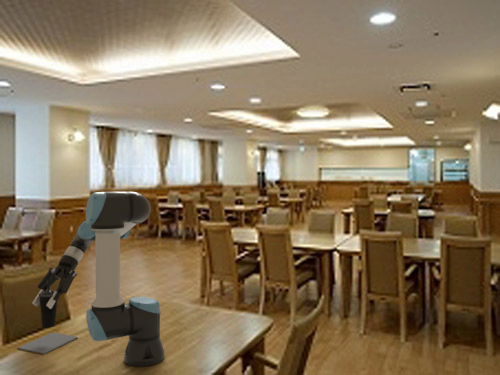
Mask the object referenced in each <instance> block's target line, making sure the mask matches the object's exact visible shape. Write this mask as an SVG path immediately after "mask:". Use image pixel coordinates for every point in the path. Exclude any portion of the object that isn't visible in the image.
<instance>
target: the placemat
mask: <svg viewBox="0 0 500 375" xmlns="http://www.w3.org/2000/svg"><path fill="white" fill-rule="evenodd" d="M78 338H79V337H78V336H74V335H71V334H69V335H68V334H64V333H59V332H54V331H53V332H50V333H48V334H46V335H44V336H43V335H42V336H40V337H39V338H37V339H34V340H31V341H29V342H27V343H25V344H23V345H20V346H17V350H20V351H25V350H27V351H26V352H30V351H32V352H31V353H34V352H36V354H39V353H41V354H40V355H44V354H45V355H46V354H49V353H50V352H53V351H55V350H57V349H59V348H61V347H63V346H65V345H67V344H68V343H69V344H70V343H71V342H73V341H75V340H77V339H78Z"/></svg>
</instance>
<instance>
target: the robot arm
mask: <svg viewBox="0 0 500 375" xmlns="http://www.w3.org/2000/svg"><path fill="white" fill-rule="evenodd" d="M150 203H151V202H150V201H149V200H148V199H147V197H146V196H145V195H143V194H141V193H140V192H136V191H98V192H93V193H91V194H90V195H89V197H88V199H87V201H86V209H85V221H83V222H81V224H80V225H79V226H78V228H77V231H76V233H75V235H74V237H73V239H72V241H71V242H70V244H69V245H68V247H67V249H66V250H65V251H64V253H63V255H62V256H61V258H60V259H59V261H58V265H57V266H56V267H55V268H53V267H49V268H48V271H47V273H46V274H45V275H44V277H43V278H42V279H41V281H40V282H39V283H38V285H37V289H39V290H38V292H37V293H36V295H35V298H34V300H33V301H32V302H31V304H32V305H33V306H34V307H38V306H39V305H40V298H39V294H40V293H42V292H44V291H47V290H48V278H50V287H51V286H52V285H53V284H54V283H55V282H56V281H58V280H59V283H58V287H57V288H56V290H54V291H55V292H54V293H53V296H52V297H51V298H50V300H49V302H48V303H47V305H46V306H47V307H49V308H50V309H51V308H52V307H53V305H54V304H55V302H56V301H57V302H58V300H59V299H60V297H61V296H62V295H63V294H65V295H66V294H67V293H68V291H69V289H70V287H71V285H72V283H73V282H74V279H75V278H76V277H77V275H78V273H77V272H76V271H75V270H76V268H77V267H78V265H79V263H80V261H81V259H83V257H84V255H85V253H86V252H87V250H88V249H89V247H90V245H91V244H92V242H95V299H94V300H93V301H92V302H91V308H89V309H87V310H86V312H85V313H86V315H85V316H86V324H87V328H88V333H89V335H90V337H91V339H92V341H95V342H103V341H105V342H106V341H108V340H113V339H118V338H123V337H124V338H125V337H128V342H127V344H126V348H125V351H124V354H123V361H124V363H125V364H127V365H128V366H132V367H139V368H142V367H149V366H154V365H157V364H158V363H161V362H162V361H163V360H164V359H165V349H164V346H163V342H162V339H161V305H160V304H161V303H160V302H159V301H158V300H157V299H156V298H154V297H153V298H152V297H147V296H134V297H130V298H129V300H128V303H125V299H124V298H123V297H121V240H122V239H123V240H124V239H128V238H129V235H130V232H131V229H133V227H135V226H136V225H139V224H142V223H143V222H146V220H148V218H149V217H150V215H151V212H152V206H151V204H150ZM56 291H57V292H56Z"/></svg>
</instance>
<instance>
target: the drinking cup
mask: <svg viewBox="0 0 500 375" xmlns="http://www.w3.org/2000/svg"><path fill="white" fill-rule="evenodd" d="M50 288H51V286H50V278H48V289H47V290H46V291H44V292H42V293H40V294H39V298H40V303H39V305H40V318H41V327H42V328H46V329H49V328H53V327H55V326H56V318H57V310H58V308H57V307H58V300H57V301H56V302H55V304H54V305H53V307H52V308H51V309H50V308H49V307H47V306H46V305H47V303H48V302H49V300H50V298H51V297H52V296H53V293H54V292H55V291H56V290H52V289H50ZM56 292H57V291H56Z"/></svg>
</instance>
